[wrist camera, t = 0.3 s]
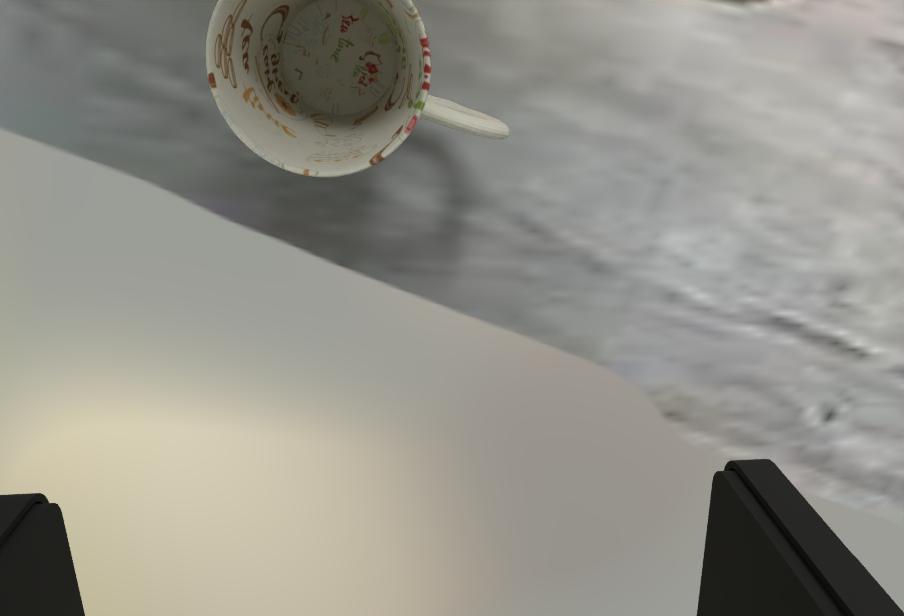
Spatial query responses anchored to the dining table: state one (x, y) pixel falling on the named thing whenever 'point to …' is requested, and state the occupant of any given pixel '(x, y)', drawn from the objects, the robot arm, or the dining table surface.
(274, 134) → the mug
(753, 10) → the dining table surface
